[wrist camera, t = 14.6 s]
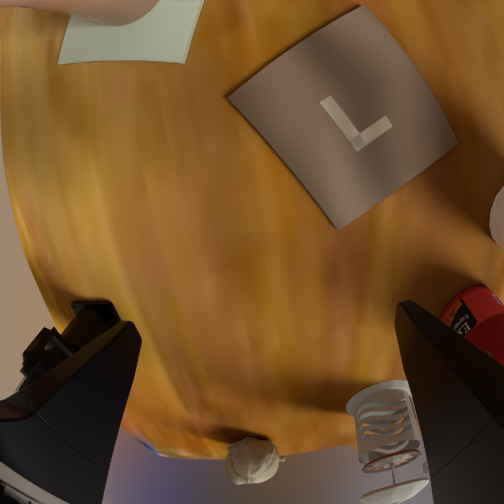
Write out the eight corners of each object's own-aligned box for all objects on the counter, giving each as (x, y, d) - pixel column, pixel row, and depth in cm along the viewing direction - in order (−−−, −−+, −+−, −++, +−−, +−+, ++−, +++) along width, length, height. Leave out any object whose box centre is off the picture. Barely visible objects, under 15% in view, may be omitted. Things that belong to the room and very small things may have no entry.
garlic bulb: (237, 432, 41) (211, 474, 34) (242, 421, 36) (212, 470, 29) (283, 452, 39) (260, 495, 32) (295, 444, 34) (269, 495, 27)
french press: (340, 392, 29) (344, 587, 7) (430, 365, 26) (472, 551, 4) (349, 423, 33) (353, 574, 11) (424, 402, 30) (449, 549, 8)
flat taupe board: (337, 228, 20) (338, 231, 20) (228, 98, 16) (227, 97, 16) (456, 142, 15) (459, 143, 15) (362, 6, 12) (364, 4, 11)
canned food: (444, 290, 21) (495, 379, 12) (500, 277, 20) (554, 347, 10) (429, 346, 25) (460, 428, 15) (482, 330, 23) (518, 400, 14)
